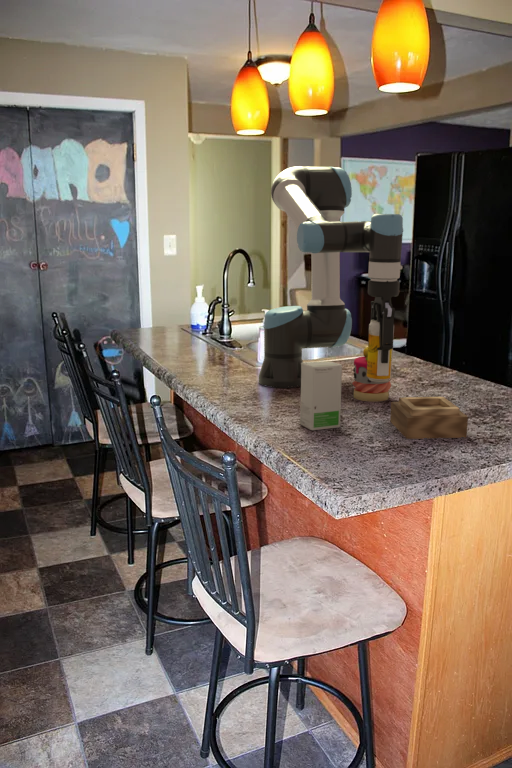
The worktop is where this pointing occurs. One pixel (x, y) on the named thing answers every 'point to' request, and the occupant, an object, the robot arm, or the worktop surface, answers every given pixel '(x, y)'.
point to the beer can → (376, 354)
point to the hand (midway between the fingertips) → (379, 371)
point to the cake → (368, 382)
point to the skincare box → (320, 395)
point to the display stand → (428, 418)
